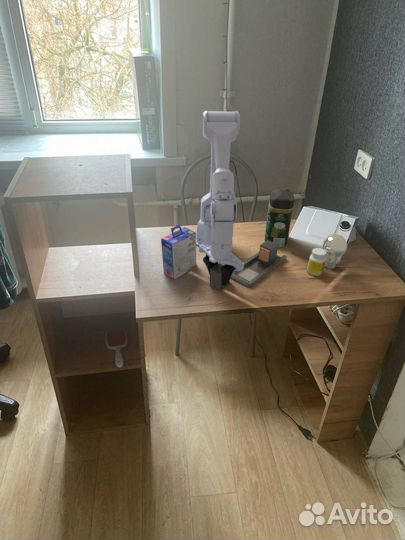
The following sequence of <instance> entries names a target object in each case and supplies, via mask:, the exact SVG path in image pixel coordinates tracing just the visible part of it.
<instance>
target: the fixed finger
mask: <svg viewBox="0 0 405 540" xmlns="http://www.w3.org/2000/svg"><path fill="white" fill-rule="evenodd" d="M278 248H279V247H278V244H276V243H273V242H271V241H269V240H267V241H265V240H264V242H262V243H261V244H260V245H259V250H258V252H259V258H258V261H259V262H261V263H263V264H265V265H268V266H270V265H271V264H272V263H274V262H275V261H276V256H277V255H278Z"/></svg>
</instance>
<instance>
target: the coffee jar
mask: <svg viewBox="0 0 405 540" xmlns="http://www.w3.org/2000/svg"><path fill="white" fill-rule="evenodd" d="M294 202H295V196H294V193H293V192H292V191H290V189H288V188H279V187H278V188H277V187H276V188H275V189H273V190H272V191H271V192H270V195H269V200H268V206H267V214H266V215H267V216H266V223H265V224H266V225H265V233H264V242H265V241H267V240H269V241H271V242H273V243H276V244H278V248H285V247H286V246H287V245H288V240H289V236H290V228H291V222H292V217H293V216H292V215H293V211H294V204H295V203H294Z"/></svg>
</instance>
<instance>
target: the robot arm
mask: <svg viewBox="0 0 405 540" xmlns="http://www.w3.org/2000/svg"><path fill="white" fill-rule="evenodd" d="M240 129H241V115H240V112H239V111H238V110H234V111H220V110H219V111H215V110H214V111H213V110H212V111H210V110H204V112H203V113H202V136H203V138H204V139H205V140H207V141H209V143H210V145H211V147H210V148H211V149H210V151H211V153H210V177H209V178H210V185H209V192H208V193H207V194H205V195H204V196H203V197H201V199H200V202H201V203H200V219H199V220H198V222H197V225H196V246H198V252H199V253H204V254H205V256H204V257H202V262H203V263H204V264H205V266H206V268H207V271H208V275H209V276H210V268H212V267H213V266H215V265H216V264H218V263H221V264H223V265H224V266H222V267H221V268H220V269H221V272H222V284H223V287H225V286H226V285H228V284H229V282H230V279H231V275H232V273H233V272H234V270H235V269H236V268H237V271H241V270H242V269H244V263H243V262H244V261H242V260H240V259H239V258H238V257H237V256H236V255H234V254H233V252H232V249H233V248H232V247H233V237H234V236H233V235H234V223H235V222H236V220H237V216H238V215H237V214H238V203H237V197H236V194H235V174H234V173H233V172H232V170H231V169H230V163H231V162H230V161H231V160H230V159H231V146H232V145H231V143H233V142H235V140H236V139H237V136H238V135H239V134H240Z"/></svg>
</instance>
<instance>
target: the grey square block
mask: <svg viewBox="0 0 405 540" xmlns="http://www.w3.org/2000/svg"><path fill="white" fill-rule="evenodd" d="M224 265H225V264H223V263H219V262H218V264H216V265H215V266H213V267H212V268H210V275H209V287H212V288H214V289H215V290H217V291H219V292H221V291H223V290H224V289H225V287H224V286H223V284H222V272H221V269H220V268H221V267H222V266H224Z"/></svg>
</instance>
